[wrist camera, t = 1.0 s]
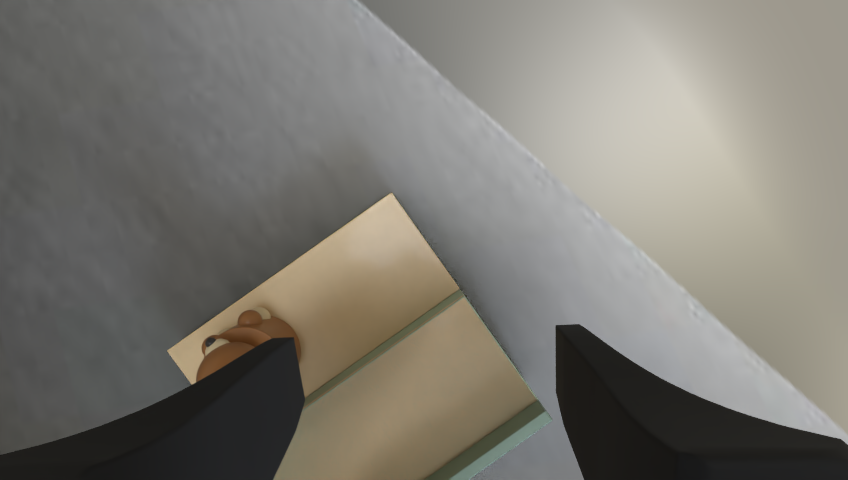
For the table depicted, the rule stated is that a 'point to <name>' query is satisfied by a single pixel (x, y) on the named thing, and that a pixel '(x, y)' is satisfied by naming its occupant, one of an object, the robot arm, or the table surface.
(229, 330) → the teddy bear
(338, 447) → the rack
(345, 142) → the table surface
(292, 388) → the robot arm
